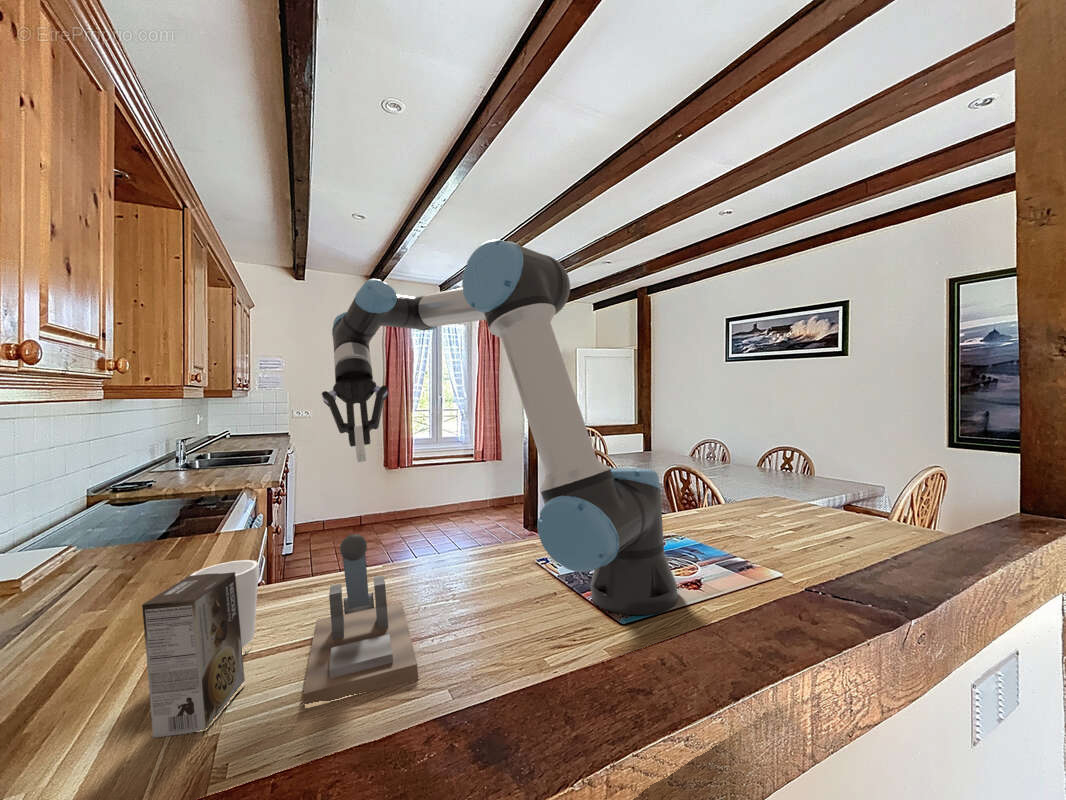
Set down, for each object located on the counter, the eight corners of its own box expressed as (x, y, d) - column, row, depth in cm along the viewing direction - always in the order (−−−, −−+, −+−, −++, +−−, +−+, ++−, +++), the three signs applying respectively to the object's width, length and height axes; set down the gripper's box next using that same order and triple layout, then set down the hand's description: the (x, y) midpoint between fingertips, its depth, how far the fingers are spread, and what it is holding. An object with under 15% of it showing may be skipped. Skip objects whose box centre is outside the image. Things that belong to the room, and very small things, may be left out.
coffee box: (197, 691, 65) (188, 574, 64) (246, 686, 65) (237, 570, 65) (149, 739, 56) (138, 603, 55) (207, 732, 56) (196, 598, 56)
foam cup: (230, 670, 69) (223, 583, 69) (177, 667, 71) (171, 582, 71) (277, 637, 79) (271, 559, 78) (230, 635, 80) (224, 559, 80)
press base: (317, 631, 80) (313, 578, 80) (402, 612, 85) (398, 562, 84) (304, 709, 59) (298, 638, 59) (418, 678, 64) (413, 612, 64)
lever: (344, 600, 77) (335, 531, 66) (372, 594, 78) (368, 526, 68) (345, 621, 74) (336, 553, 64) (374, 614, 76) (370, 547, 65)
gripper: (385, 377, 107) (398, 463, 93) (323, 383, 103) (326, 474, 89) (383, 353, 102) (396, 440, 87) (318, 358, 98) (320, 451, 83)
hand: (361, 457), depth 88 cm, fingers closed
